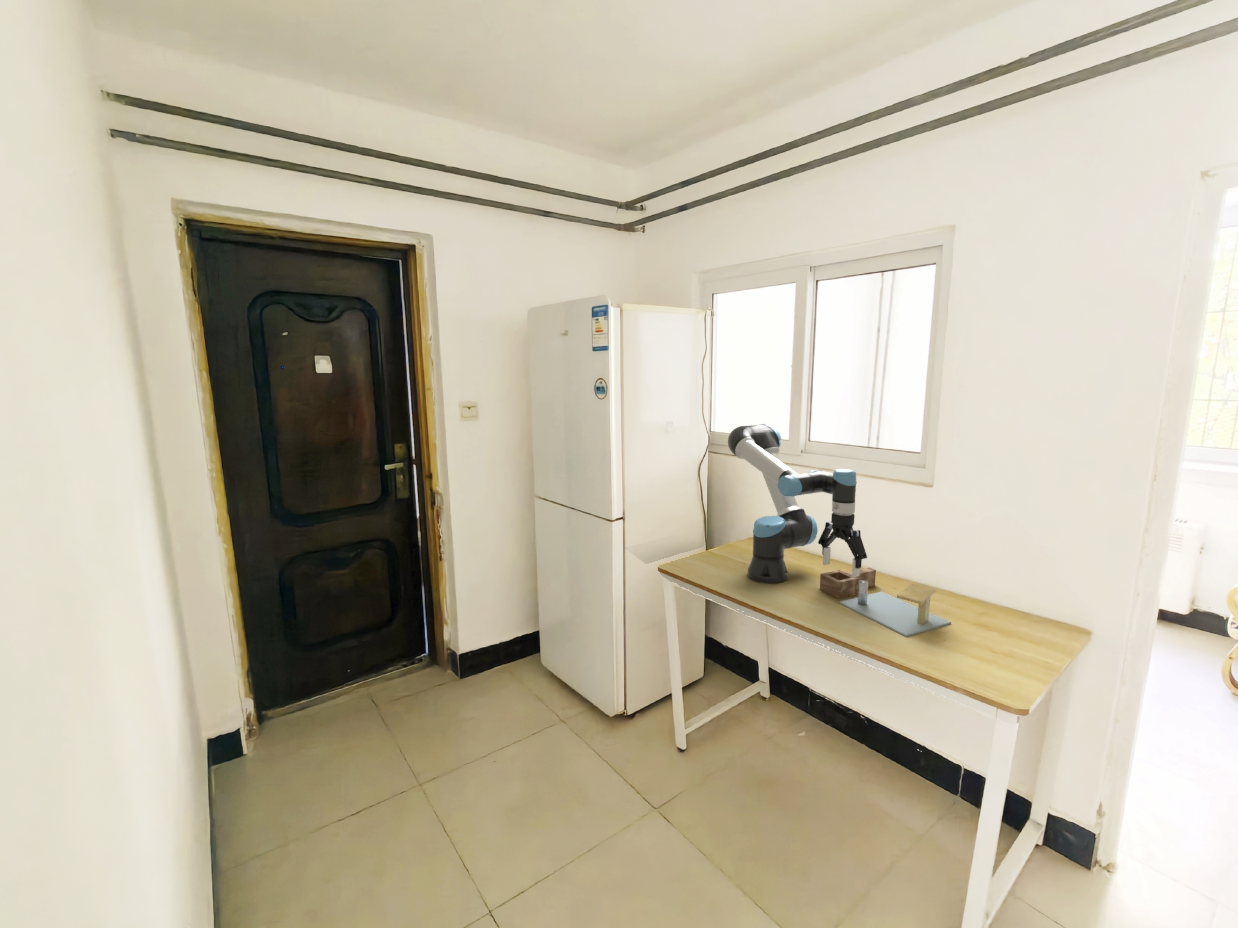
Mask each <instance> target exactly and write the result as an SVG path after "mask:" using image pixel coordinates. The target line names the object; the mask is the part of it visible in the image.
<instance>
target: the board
mask: <svg viewBox="0 0 1238 928" xmlns="http://www.w3.org/2000/svg"><path fill="white" fill-rule="evenodd" d="M857 600H858V596H857V597H853V598H849V599H845V600H840V601H839V604H841V605H842V606H845V608H846V607H847V608H848V609H850V610H851V611H854V612H855V613H858V614H860V615H862V616H864V617H866V618H869V619H870V620H872V621H874V622H876V623H878V624H879V625H882V626H884V627H886V628H888V629H890V630H892V631H894V632H895V633H898V634H899V635H902V636H904V637H907V638H908V637H910V636H914V635H918V634H919V633H923V632H927V631H931V630H934V629H937V628H940V627H945V626H947V625H948V626H949V625H951V624H952V622H951V621H950V620H947V619H946V618H942V617H941V616H939V615H936V614H934V613H932V612H930V611H929V619H928V622H927V623H926V624H925V625H922V624H919V623H917V619H918V607H919V606H916V605H914V604H911V603H910V602H906V600H903V599H900V598H897V596H896V597H895V596H894V595H891V594H888V593H886V592H884V591H878V592H873V593H868V595H867V605H866V606H862V605H859V604H857Z"/></svg>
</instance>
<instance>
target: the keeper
mask: <svg viewBox="0 0 1238 928" xmlns="http://www.w3.org/2000/svg"><path fill="white" fill-rule="evenodd" d="M935 593H936V589H934V588H932V587H926V586H924V585H919V584H914V583H910V584H909V585H908V586H907V587H905V588H904V589H903V590H902V591H901V592H899V593H898V594H897V596H896V598H898V599H900V600H903V601H908V602H911V603H915V604H918V606H917V607H918V619H917V623H919V624H922V625H925V624H926V623H927V622H928V619H929V612H930V607H931V598H932V596H933V595H934V594H935Z"/></svg>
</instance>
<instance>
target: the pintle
mask: <svg viewBox="0 0 1238 928" xmlns="http://www.w3.org/2000/svg"><path fill="white" fill-rule="evenodd" d="M867 595H869V587H868V582H867V581H864V580H860V581H859V584H858V593H857V597H858V600H857V604H859V605H862V606H866V605H867Z"/></svg>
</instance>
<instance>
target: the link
mask: <svg viewBox="0 0 1238 928" xmlns="http://www.w3.org/2000/svg"><path fill="white" fill-rule="evenodd" d="M876 572H877V570H876V569H874V568H872V567H865V568H860V573H859V576H857V577H852V570H851V571H847V572H845V571H842V570H840V569H837V570H832V571H828V572H824V573H820V576H819V577H820V579H819V590H821V591H822V592H825V593H827V594H828V595H830V596H832V597H834V598H836V599H842V598H847V597H851V596H854V595H855V596H856V595H858V584H859V581H860V580H864V581H867V582H868V588H869V587H873V586H874V587H875V586H876V577H877V576H876V575H877V573H876Z"/></svg>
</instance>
